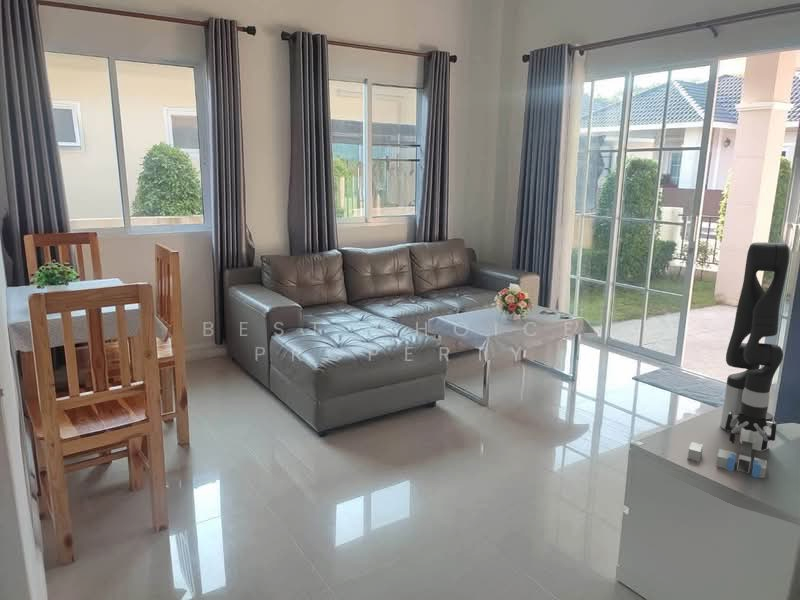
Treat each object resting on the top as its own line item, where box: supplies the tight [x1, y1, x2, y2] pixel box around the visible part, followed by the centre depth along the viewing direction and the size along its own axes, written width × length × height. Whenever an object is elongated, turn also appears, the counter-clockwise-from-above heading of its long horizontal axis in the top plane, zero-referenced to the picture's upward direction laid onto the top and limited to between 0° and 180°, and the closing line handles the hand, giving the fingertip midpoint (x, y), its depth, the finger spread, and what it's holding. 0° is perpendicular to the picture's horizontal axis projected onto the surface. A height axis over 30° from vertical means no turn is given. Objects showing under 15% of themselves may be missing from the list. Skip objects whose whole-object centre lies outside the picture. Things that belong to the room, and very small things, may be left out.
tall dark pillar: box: [736, 441, 753, 474], centre depth 190 cm, size 15×3×4 cm, turn 146°
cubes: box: [687, 441, 768, 479], centre depth 188 cm, size 7×22×4 cm, turn 56°
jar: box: [739, 412, 774, 452], centre depth 200 cm, size 9×8×12 cm
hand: (747, 445), depth 191 cm, fingers open, 8 cm apart
